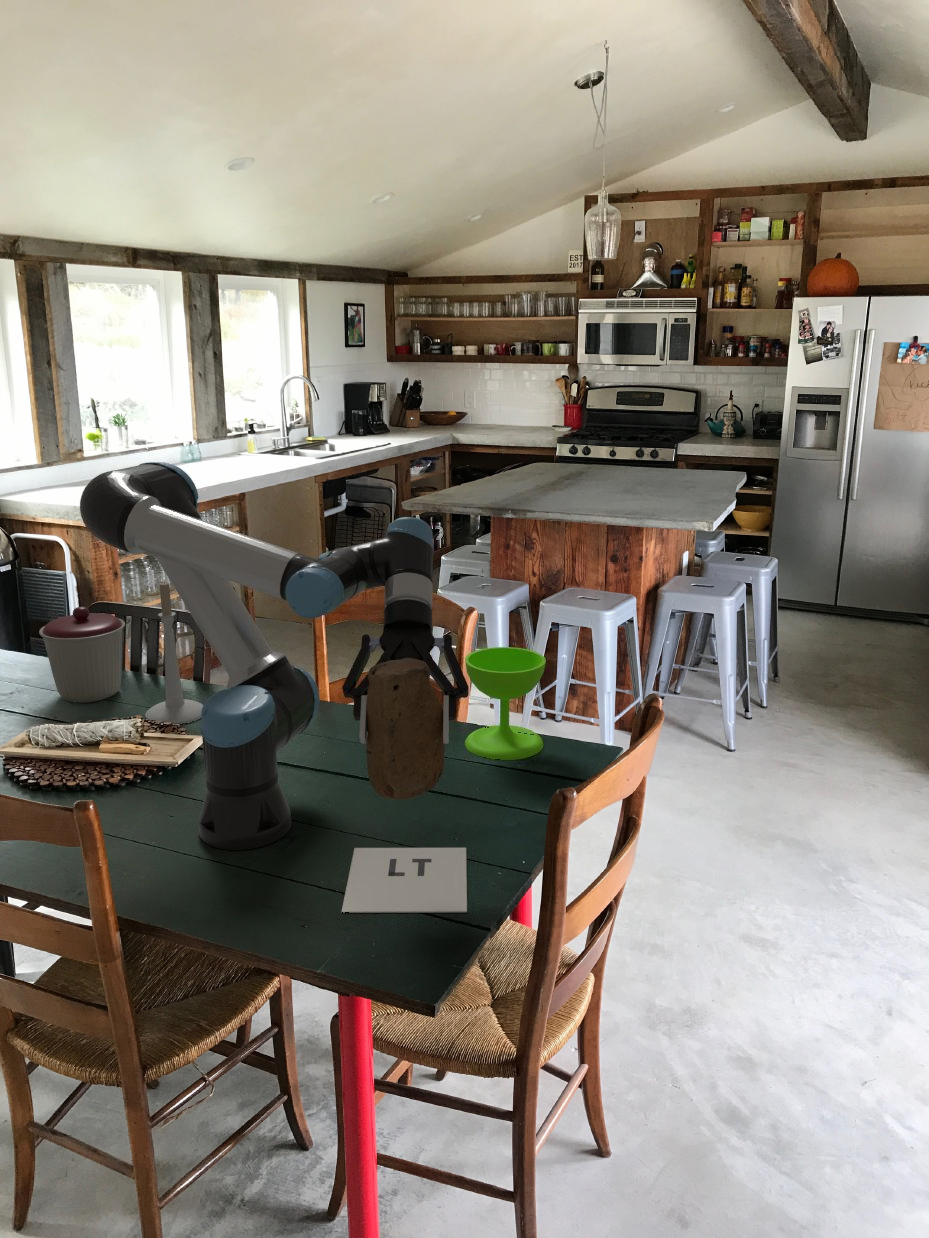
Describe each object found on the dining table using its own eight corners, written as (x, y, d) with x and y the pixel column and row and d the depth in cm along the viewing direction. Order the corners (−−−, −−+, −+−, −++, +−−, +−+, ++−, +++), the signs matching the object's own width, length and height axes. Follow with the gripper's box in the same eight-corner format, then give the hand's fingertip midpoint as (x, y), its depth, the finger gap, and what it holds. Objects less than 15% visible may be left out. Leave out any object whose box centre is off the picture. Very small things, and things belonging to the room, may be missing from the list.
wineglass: (492, 722, 208) (493, 642, 203) (558, 739, 199) (560, 656, 194) (449, 747, 195) (448, 662, 190) (517, 767, 187) (518, 678, 182)
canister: (140, 680, 233) (132, 596, 227) (119, 708, 216) (110, 617, 210) (63, 682, 232) (52, 597, 226) (36, 710, 214) (23, 619, 209)
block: (385, 807, 140) (382, 677, 135) (363, 786, 147) (359, 661, 141) (450, 790, 146) (450, 664, 140) (426, 771, 152) (425, 649, 146)
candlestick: (133, 723, 208) (119, 587, 199) (164, 702, 220) (152, 572, 211) (188, 728, 205) (176, 590, 197) (216, 706, 217) (206, 575, 209)
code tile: (341, 912, 140) (341, 911, 139) (354, 849, 157) (354, 847, 157) (466, 912, 140) (466, 910, 140) (466, 848, 157) (466, 847, 157)
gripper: (483, 620, 155) (485, 749, 144) (334, 620, 155) (325, 749, 144) (484, 596, 148) (486, 730, 138) (329, 596, 148) (319, 730, 138)
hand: (404, 740), depth 141 cm, fingers closed on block, 11 cm apart
